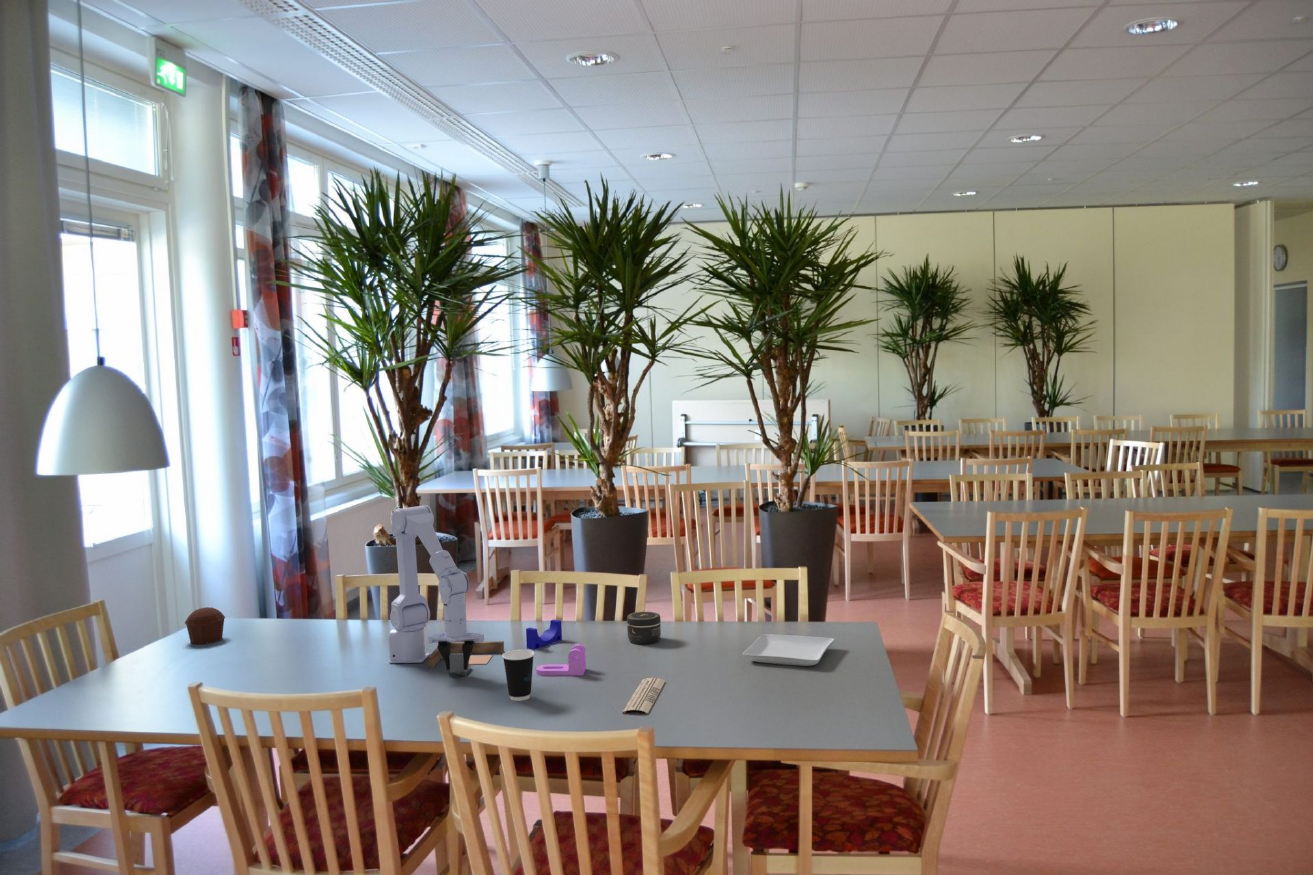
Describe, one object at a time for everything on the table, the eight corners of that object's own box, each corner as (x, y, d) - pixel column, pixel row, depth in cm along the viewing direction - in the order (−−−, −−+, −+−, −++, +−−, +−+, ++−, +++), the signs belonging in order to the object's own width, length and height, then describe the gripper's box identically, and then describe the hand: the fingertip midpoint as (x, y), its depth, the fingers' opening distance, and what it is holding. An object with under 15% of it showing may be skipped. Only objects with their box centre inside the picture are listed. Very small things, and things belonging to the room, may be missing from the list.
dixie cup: (537, 701, 238) (536, 656, 237) (505, 704, 236) (503, 659, 235) (534, 690, 246) (532, 647, 245) (502, 694, 244) (500, 650, 243)
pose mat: (447, 664, 270) (447, 664, 270) (454, 656, 278) (454, 655, 278) (486, 664, 269) (486, 663, 269) (492, 655, 277) (492, 655, 277)
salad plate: (741, 665, 263) (740, 652, 263) (762, 643, 282) (762, 632, 282) (818, 672, 255) (818, 659, 255) (835, 649, 274) (835, 637, 274)
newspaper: (642, 684, 251) (642, 677, 250) (669, 684, 249) (669, 678, 249) (622, 716, 227) (622, 708, 227) (652, 717, 226) (652, 710, 226)
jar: (620, 642, 287) (619, 616, 287) (640, 634, 295) (639, 609, 295) (648, 647, 281) (647, 621, 281) (667, 638, 290) (667, 613, 289)
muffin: (201, 635, 310) (199, 604, 309) (233, 635, 309) (231, 604, 308) (178, 645, 298) (176, 613, 298) (211, 645, 297) (209, 613, 296)
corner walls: (428, 668, 267) (427, 657, 267) (442, 652, 282) (441, 642, 282) (493, 667, 266) (492, 656, 266) (504, 651, 281) (503, 641, 281)
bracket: (586, 669, 263) (585, 643, 262) (582, 675, 257) (581, 649, 257) (538, 669, 264) (537, 644, 263) (534, 675, 258) (533, 650, 258)
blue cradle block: (550, 638, 294) (550, 618, 294) (562, 640, 292) (561, 620, 291) (523, 648, 285) (522, 627, 284) (534, 650, 282) (533, 629, 282)
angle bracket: (464, 676, 259) (463, 654, 259) (449, 676, 259) (448, 654, 259) (470, 668, 266) (469, 646, 266) (456, 668, 266) (455, 647, 266)
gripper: (423, 622, 255) (426, 673, 256) (478, 621, 254) (481, 673, 255) (431, 616, 262) (433, 665, 263) (484, 615, 261) (487, 664, 262)
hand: (457, 668), depth 260 cm, fingers closed on angle bracket, 4 cm apart
